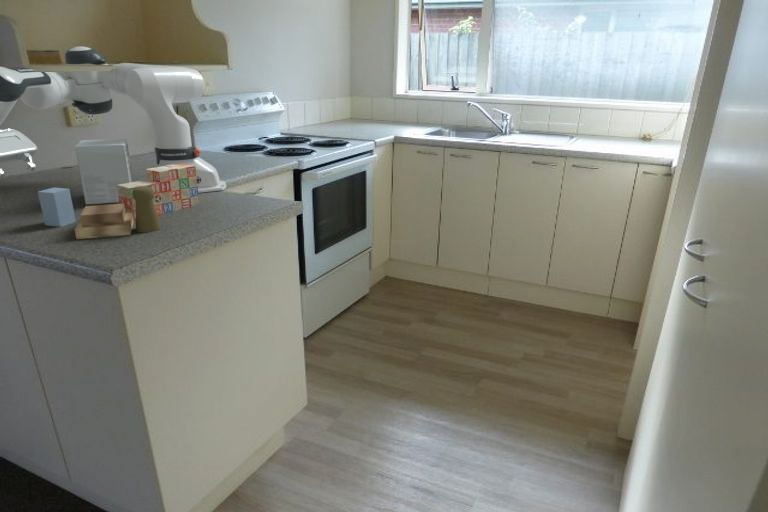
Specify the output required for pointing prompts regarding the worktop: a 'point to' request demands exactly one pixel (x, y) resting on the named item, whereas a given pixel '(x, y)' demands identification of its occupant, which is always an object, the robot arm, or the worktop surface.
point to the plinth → (105, 229)
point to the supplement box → (103, 169)
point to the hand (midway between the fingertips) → (17, 172)
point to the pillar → (56, 206)
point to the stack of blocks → (164, 189)
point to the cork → (145, 210)
